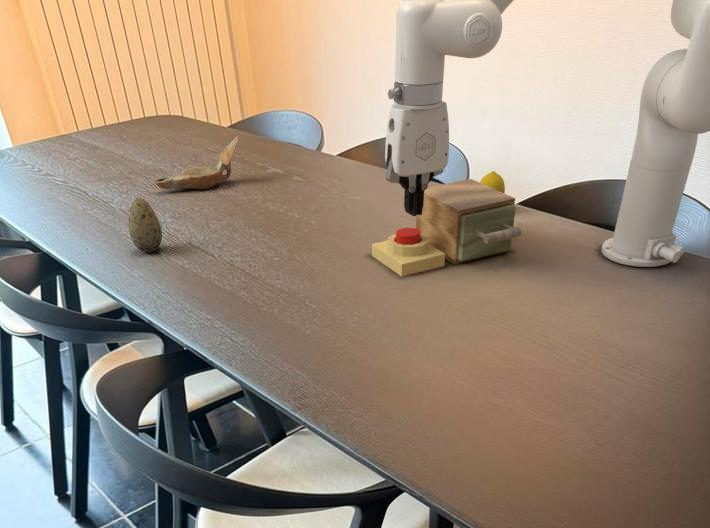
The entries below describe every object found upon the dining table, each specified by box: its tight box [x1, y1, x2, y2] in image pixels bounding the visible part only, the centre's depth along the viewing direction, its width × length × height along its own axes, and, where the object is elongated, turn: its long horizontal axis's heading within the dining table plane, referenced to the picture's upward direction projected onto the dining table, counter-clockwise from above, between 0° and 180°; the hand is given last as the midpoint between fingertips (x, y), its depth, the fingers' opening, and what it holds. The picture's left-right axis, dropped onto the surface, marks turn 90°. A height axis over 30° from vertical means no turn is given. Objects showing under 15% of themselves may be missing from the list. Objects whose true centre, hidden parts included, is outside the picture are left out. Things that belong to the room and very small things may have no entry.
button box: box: [371, 233, 446, 277], centre depth 122 cm, size 11×9×4 cm
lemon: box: [479, 170, 506, 194], centre depth 140 cm, size 6×6×8 cm
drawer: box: [458, 204, 522, 261], centre depth 122 cm, size 17×11×8 cm, turn 27°
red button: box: [395, 227, 421, 245], centre depth 121 cm, size 4×4×2 cm
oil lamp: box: [154, 135, 239, 190], centre depth 158 cm, size 9×21×10 cm, turn 114°
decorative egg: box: [128, 197, 163, 253], centre depth 128 cm, size 6×6×10 cm
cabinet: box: [415, 178, 516, 265], centre depth 125 cm, size 14×12×10 cm
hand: (413, 213), depth 117 cm, fingers closed
